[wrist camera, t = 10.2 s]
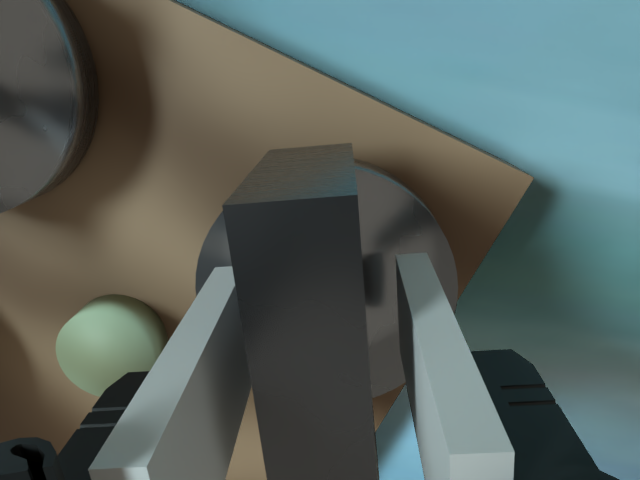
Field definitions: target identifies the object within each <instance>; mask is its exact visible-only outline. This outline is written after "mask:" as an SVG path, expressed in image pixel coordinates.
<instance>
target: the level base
mask: <svg viewBox="0 0 640 480" xmlns="http://www.w3.org/2000/svg"><path fill="white" fill-rule="evenodd" d="M66 2H67V3H68V5H69V6H70V7H71V9H72V10H73V12H74V14H75V16H76V18H77V20H78V21H79V23H80V25H81V27H82V29H83V31H84V34H85V36H86V38H87V41H88V43H89V46H90V49H91V52H92V56H93V59H94V63H95V67H96V73H97V79H98V91H99V106H98V118H97V123H96V127H95V132H94V135H93V138H92V141H91V143H90V146H89V149H88V150H87V152H86V154H85V156H84V158H83V159H82V161H81V163H80V164H79V165H78V166H77V168H76V169H75V170H74V172H73V173H72V174H71V175H70V176H69V177H68V178H67V179H66V180H65V181H64V182H62V183H61V184H60V185H58V186H57V187H55V188H54V189H53V190H51V191H50V192H47V193H45V194H43V195H41V196H39V197H37V198H35V199H32V200H30V201H28V202H25V203H23V204H21V205H19V206H16V207H14V208H12V209H10V210H7V211H5V212H3V213H0V443H2V442H6V441H9V440H13V439H17V438H28V437H38V438H41V439H44V440H47V441H49V442H51V444H52V446H53V447H54V449H55V451H56V453H57V456H58V454H59V453H60V451H61V450H62V449H63V447H64V446H65V445H66V443H67V442H68V440H69V439H70V438H71V436H72V435H73V434H74V432H75V431H76V429H80V424H81V423H82V421H83V420H84V418H85V417H86V416H87V414H88V413H89V412H92V407H93V406H94V405H95V403H96V402H97V401H98V399H99V398H100V396H101V395H102V394H103V392H104V391H105V390H106V389H107V388H108V387H109V386H111V385H112V384H113V383H115V382H116V381H117V380H118V379H120V378H121V377H122V376H124V375H125V374H126V373H128V372H143V371H150V370H151V368H152V367H153V365H154V364H155V362H156V360H157V359H158V357H159V356H160V354H161V352H162V351H163V349H164V348H165V346H166V344H167V343H168V341H169V340H170V338H171V336H172V335H173V333H174V332H175V330H176V328H177V327H178V325H179V324H180V322H181V321H182V319H183V317H184V316H185V314H186V313H187V311H188V309H189V308H190V306H191V305H192V303H193V301H194V300H195V298H196V290H195V284H196V269H197V263H198V257H199V254H200V251H201V248H202V245H203V242H204V240H205V238H206V236H207V234H208V232H209V230H210V228H211V227H212V225H213V224H214V222H215V221H216V219H217V218H218V216H219V215H220V214H221V212H222V211H223V208H222V205H223V204H224V203H225V201H226V200H227V199H228V198H229V197H230V196H231V194H232V193H233V192H234V191H235V190H236V188H237V187H238V186H239V185H240V184H241V183H242V181H243V180H244V179H245V178H246V177H247V176H248V174H249V173H250V172H251V171H252V170H253V168H254V167H255V166H256V165H257V164H258V163H259V161H260V160H261V159H262V158H263V157H264V156H265V154H266V153H267V152H268V151H269V150H272V149H284V148H295V147H307V146H318V145H330V144H342V143H352V148H353V157H354V159H357V160H362V161H366V162H368V163H371V164H373V165H376V166H378V167H381V168H383V169H384V170H386V171H388V172H390V173H392V174H393V175H395V176H397V177H398V178H399V179H401V180H402V181H403V182H405V183H406V184H407V185H409V186H410V187H411V188H412V189H413V190H414V191H415V192H416V193H417V194H418V195H419V196H420V197H421V199H422V200H423V201H424V203H425V204H426V205H427V207H428V208H429V209H430V211H431V213H432V214H433V216H434V218H435V219H436V221H437V223H438V224H439V226H440V228H441V230H442V232H443V233H444V235H445V237H446V239H447V241H448V243H449V246H450V248H451V251H452V254H453V256H454V261H455V265H456V270H457V280H458V296H457V300H458V299H459V297H460V296H461V294H462V292H463V291H464V289H465V288H466V286H467V284H468V283H469V281H470V280H471V278H472V276H473V275H474V273H475V272H476V270H477V268H478V267H479V265H480V264H481V262H482V260H483V259H484V257H485V256H486V254H487V252H488V251H489V249H490V248H491V246H492V244H493V243H494V241H495V240H496V238H497V236H498V235H499V233H500V232H501V230H502V228H503V227H504V225H505V224H506V222H507V220H508V219H509V217H510V216H511V214H512V212H513V211H514V209H515V208H516V206H517V204H518V203H519V201H520V200H521V198H522V196H523V195H524V193H525V192H526V190H527V188H528V187H529V185H530V184H531V182H532V180H533V179H534V177H532V176H530V175H529V174H527V173H525V172H524V171H522V170H520V169H519V168H517V167H515V166H514V165H512V164H510V163H508V162H506V161H504V160H502V159H500V158H498V157H496V156H494V155H492V154H490V153H488V152H486V151H483V150H481V149H479V148H477V147H475V146H473V145H471V144H469V143H467V142H465V141H463V140H461V139H459V138H457V137H455V136H453V135H451V134H449V133H446V132H444V131H442V130H440V129H438V128H436V127H434V126H432V125H430V124H428V123H426V122H424V121H422V120H420V119H418V118H416V117H414V116H412V115H410V114H407V113H405V112H403V111H401V110H399V109H397V108H395V107H393V106H391V105H389V104H387V103H385V102H383V101H381V100H379V99H377V98H375V97H373V96H370V95H368V94H366V93H364V92H362V91H360V90H358V89H356V88H354V87H352V86H350V85H348V84H346V83H344V82H342V81H340V80H338V79H336V78H334V77H331V76H329V75H327V74H325V73H323V72H321V71H319V70H317V69H315V68H313V67H311V66H309V65H307V64H305V63H303V62H301V61H299V60H297V59H294V58H292V57H290V56H288V55H286V54H284V53H282V52H280V51H278V50H276V49H274V48H272V47H270V46H268V45H266V44H264V43H262V42H260V41H258V40H255V39H253V38H251V37H249V36H247V35H245V34H243V33H241V32H239V31H237V30H235V29H233V28H231V27H229V26H227V25H225V24H223V23H221V22H218V21H216V20H214V19H212V18H210V17H208V16H206V15H204V14H202V13H200V12H198V11H196V10H194V9H192V8H190V7H188V6H186V5H184V4H182V3H179V2H177V1H175V0H66ZM405 384H406V382H405V383H403V384H402V385H400V386H399V387H397V388H395V389H393V390H391V391H389V392H387V393H385V394H382V395H380V396H377V397H374V398H372V401H373V413H374V425H375V432H376V430H377V429H378V427H379V425H380V424H381V422H382V421H383V419H384V417H385V416H386V414H387V413H388V411H389V409H390V408H391V406H392V405H393V403H394V401H395V400H396V398H397V397H398V395H399V393H400V392H401V390H402V389H403V387H404V385H405ZM225 480H267V477H266V471H265V465H264V459H263V453H262V446H261V440H260V434H259V428H258V422H257V416H256V410H255V404H254V397H253V391H252V387H251V390H250V394H249V397H248V401H247V404H246V408H245V411H244V415H243V419H242V422H241V426H240V429H239V433H238V436H237V440H236V443H235V447H234V450H233V454H232V457H231V461H230V464H229V468H228V472H227V475H226V479H225Z"/></svg>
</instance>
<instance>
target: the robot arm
mask: <svg viewBox="0 0 640 480" xmlns="http://www.w3.org/2000/svg"><path fill="white" fill-rule="evenodd" d="M395 258H396V280H397V302H398V324H399V346H400V355H401V361H402V366H403V371H404V376H405V381H406V386H407V391H408V396H409V401H410V407H411V412H412V417H413V422H414V427H415V432H416V437H417V442H418V447H419V452H420V458H421V463H422V468H423V473H424V478H425V480H619V479H617V478H615V477H612V476H610V475H608V474H606V473H604V472H602V471H600V470H599V469H598V467H597V466H596V464H595V463H594V461H593V459H592V458H591V456H590V455H589V453H588V451H587V450H586V448H585V447H584V445H583V443H582V442H581V440H580V439H579V437H578V436H577V434H576V432H575V431H574V429H573V428H572V426H571V424H570V423H569V421H568V420H567V418H566V416H565V415H564V413H563V412H562V410H561V408H560V407H559V405H558V404H556V403H555V399H554V397H553V396H552V394H551V393H550V391H549V389H548V388H546V387H545V383H544V381H543V380H542V378H541V377H540V375H539V373H538V372H537V370H536V369H535V367H534V366H533V364H531V363H530V362H529V361H527V360H526V359H524V358H523V357H522V356H520V355H519V354H517V353H516V352H515V351H513V350H512V349H508V350H489V351H471V352H470V349H469V347H468V345H467V343H466V340H465V338H464V336H463V334H462V331H461V329H460V327H459V325H458V322H457V320H456V318H455V315H454V313H453V311H452V309H451V306H450V304H449V302H448V300H447V297H446V295H445V293H444V290H443V288H442V286H441V284H440V281H439V279H438V277H437V275H436V272H435V270H434V268H433V266H432V263H431V261H430V259H429V256H428V254H427V253H414V254H400V255H395ZM251 387H252V385H251V379H250V373H249V367H248V361H247V355H246V348H245V342H244V336H243V330H242V324H241V318H240V312H239V306H238V299H237V293H236V287H235V281H234V275H233V269H232V266H228V267H215V268H214V270H213V271H212V273H211V274H210V276H209V278H208V279H207V281H206V282H205V284H204V285H203V287H202V289H201V290H200V292H199V293H198V295H197V297H196V298H195V300H194V301H193V303H192V305H191V306H190V308H189V309H188V311H187V313H186V314H185V316H184V317H183V319H182V321H181V322H180V324H179V325H178V327H177V328H176V330H175V332H174V333H173V335H172V336H171V338H170V340H169V341H168V343H167V344H166V346H165V348H164V349H163V351H162V352H161V354H160V356H159V357H158V359H157V360H156V362H155V364H154V365H153V367H152V368H151V370H150V371H143V372H128V373H126V374H125V375H124V376H122V377H121V378H120V379H118V380H117V381H116V382H115V383H113V384H112V385H111V386H109V387H108V388H107V389H106V390H105V391H104V392H103V394H102V395H101V396H100V398H99V399H98V401H97V402H96V403H95V405H94V406H93V407H92V412H89V413H88V414H87V416H86V417H85V418H84V420H83V421H82V423H81V424H80V429H76V431H75V432H74V434H73V435H72V436H71V438H70V439H69V440H68V442H67V443H66V445H65V446H64V447H63V449H62V450H61V451H60V453H59V454H58V456H57V453H56V451H55V449H54V447H53V446H52V444H51V442H49V441H47V440H44V439H41V438H38V437H28V438H17V439H13V440H9V441H6V442H2V443H0V480H225V479H226V475H227V472H228V468H229V464H230V461H231V457H232V454H233V450H234V447H235V443H236V440H237V436H238V433H239V429H240V426H241V422H242V419H243V415H244V411H245V408H246V404H247V401H248V397H249V394H250V390H251Z"/></svg>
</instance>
